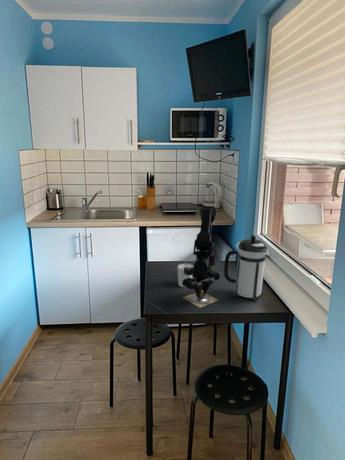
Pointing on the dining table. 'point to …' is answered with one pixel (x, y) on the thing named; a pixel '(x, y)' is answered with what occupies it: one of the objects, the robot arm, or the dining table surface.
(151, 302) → the dining table surface
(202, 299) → the lid
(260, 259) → the coffee press
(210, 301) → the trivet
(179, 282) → the white cup
